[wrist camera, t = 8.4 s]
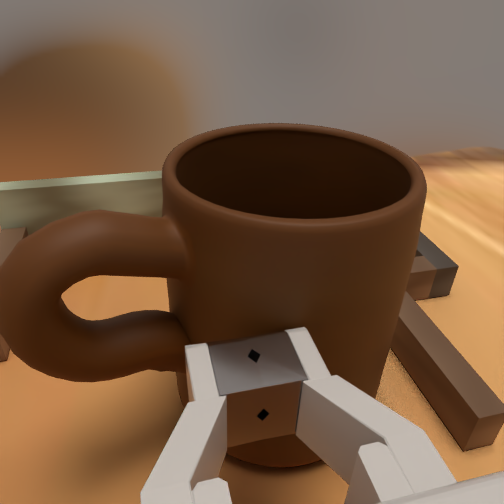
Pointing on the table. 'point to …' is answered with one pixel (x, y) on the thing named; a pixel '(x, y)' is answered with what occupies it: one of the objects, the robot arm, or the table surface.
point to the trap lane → (408, 324)
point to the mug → (233, 262)
